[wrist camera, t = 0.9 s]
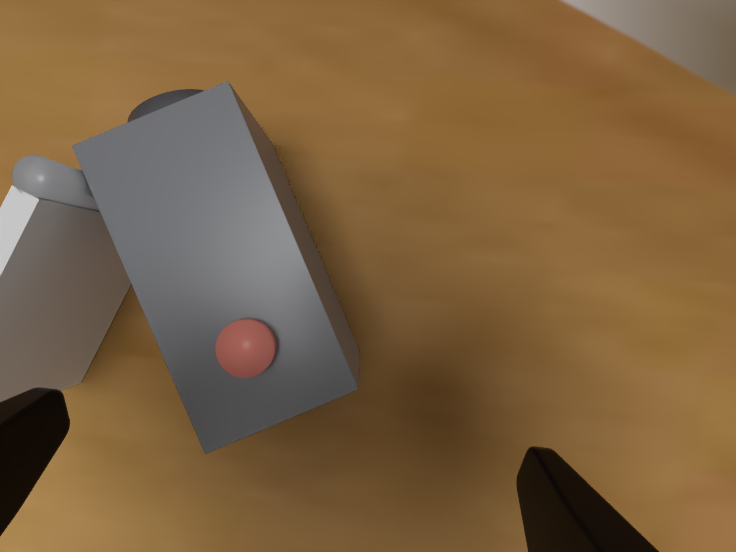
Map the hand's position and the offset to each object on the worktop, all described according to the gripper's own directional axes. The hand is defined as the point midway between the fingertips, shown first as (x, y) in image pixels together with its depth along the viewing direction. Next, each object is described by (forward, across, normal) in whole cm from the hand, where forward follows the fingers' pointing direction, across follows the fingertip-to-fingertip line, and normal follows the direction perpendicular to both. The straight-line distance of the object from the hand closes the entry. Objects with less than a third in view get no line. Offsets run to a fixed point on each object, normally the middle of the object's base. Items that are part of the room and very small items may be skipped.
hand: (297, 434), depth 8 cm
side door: (+13, +12, +5) cm, 18 cm away
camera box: (+14, +5, +3) cm, 15 cm away
